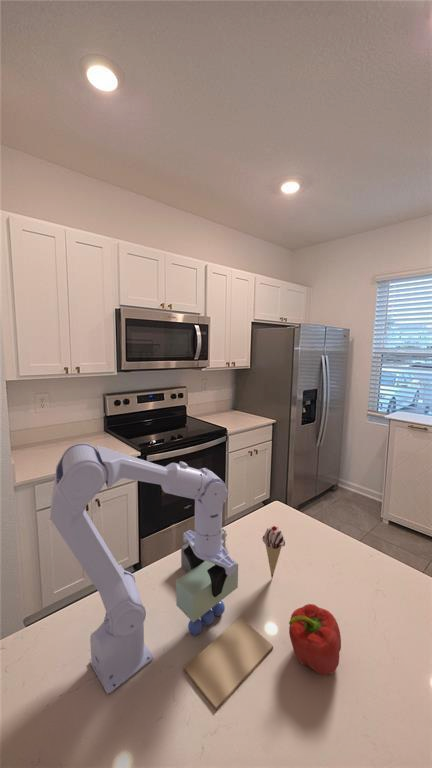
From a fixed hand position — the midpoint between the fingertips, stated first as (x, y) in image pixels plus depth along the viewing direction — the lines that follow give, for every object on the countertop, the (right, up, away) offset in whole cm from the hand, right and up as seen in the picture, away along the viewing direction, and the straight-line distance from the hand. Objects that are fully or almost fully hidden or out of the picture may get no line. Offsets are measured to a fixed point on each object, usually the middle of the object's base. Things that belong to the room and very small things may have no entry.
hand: (207, 585), depth 69 cm
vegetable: (+21, -11, -6) cm, 24 cm away
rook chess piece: (+3, -6, +22) cm, 23 cm away
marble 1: (-3, -9, -1) cm, 10 cm away
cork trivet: (+5, -10, -6) cm, 13 cm away
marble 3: (+2, -9, +4) cm, 10 cm away
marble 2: (0, -9, +1) cm, 9 cm away
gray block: (-1, -7, +15) cm, 17 cm away
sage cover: (0, -3, +1) cm, 3 cm away
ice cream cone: (+17, -8, +14) cm, 23 cm away
